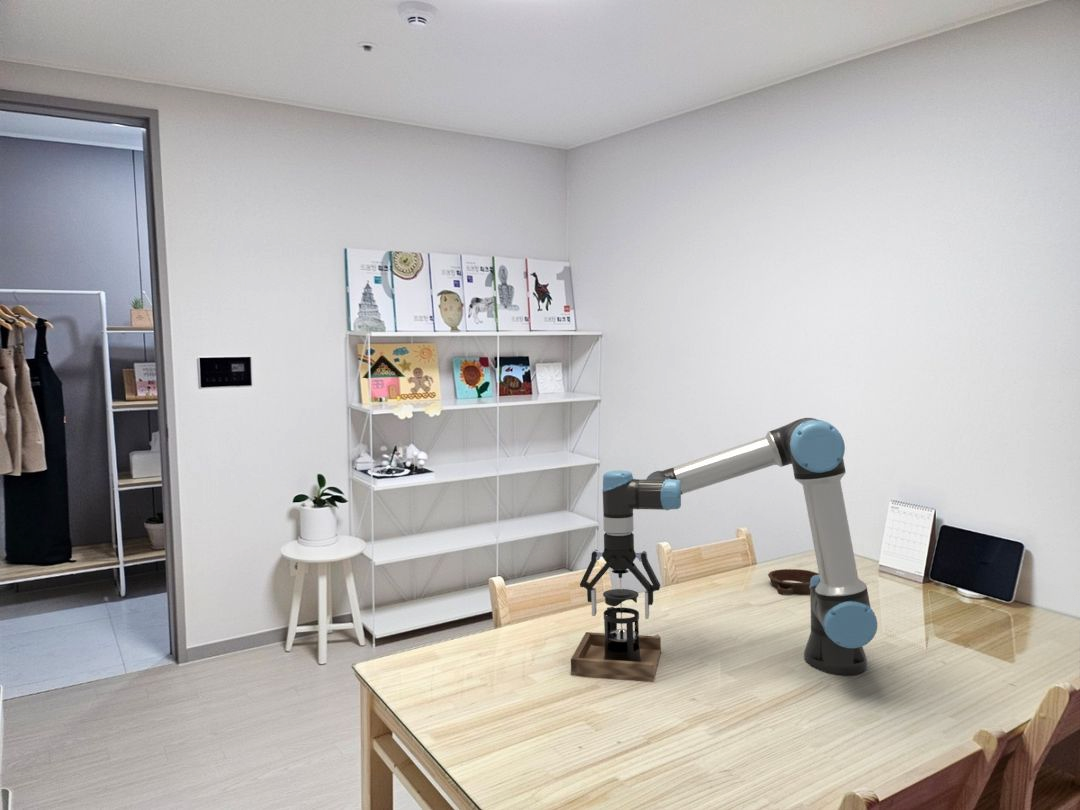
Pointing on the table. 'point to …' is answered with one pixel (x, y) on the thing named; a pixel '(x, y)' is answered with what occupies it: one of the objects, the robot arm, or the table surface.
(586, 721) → the table surface
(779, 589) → the dish
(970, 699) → the table surface
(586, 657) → the wooden tray
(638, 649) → the french press
